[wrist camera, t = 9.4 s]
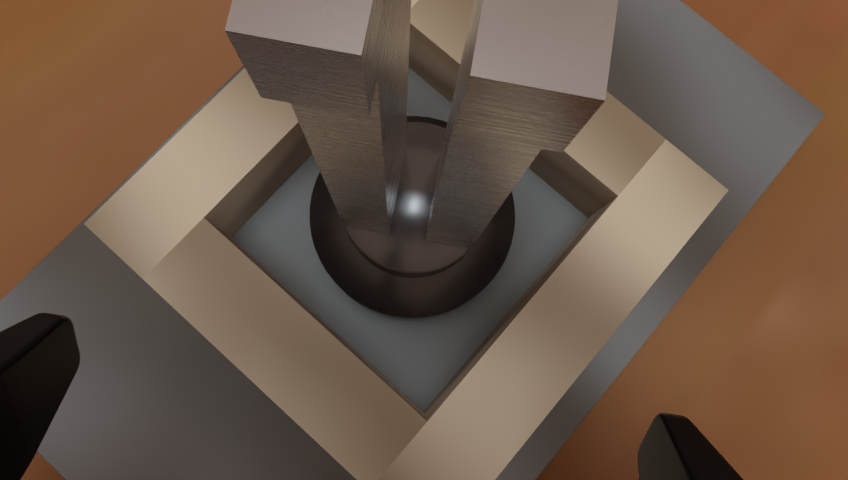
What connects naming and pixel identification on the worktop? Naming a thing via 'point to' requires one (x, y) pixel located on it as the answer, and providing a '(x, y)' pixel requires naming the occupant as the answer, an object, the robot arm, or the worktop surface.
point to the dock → (384, 337)
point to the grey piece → (423, 133)
